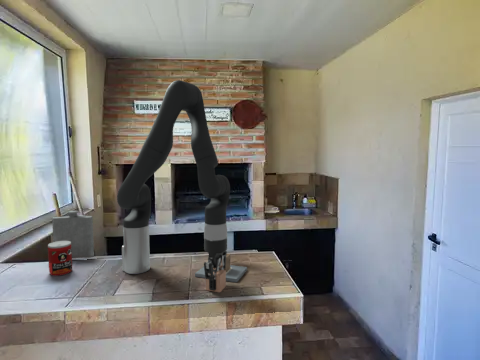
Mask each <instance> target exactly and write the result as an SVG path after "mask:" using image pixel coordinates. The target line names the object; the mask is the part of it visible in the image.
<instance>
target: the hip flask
mask: <svg viewBox="0 0 480 360" xmlns="http://www.w3.org/2000/svg"><path fill="white" fill-rule="evenodd" d="M78 213H79V212H78V210H70V211H68V212H67V214H68V216H55V217H54V216H53V217H52V218H51V220H52V221H51V222H52V239H53V240H52V241H53V242H56V241H70V242H71V249H72V259H80V258H83V259H87V258H88V259H91V258H93V257H95V253H94V251H95V245H94V223H93V222H94V221H93V220H94V219H93V216H92V215H80V214H78Z"/></svg>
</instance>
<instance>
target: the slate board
mask: <svg viewBox="0 0 480 360" xmlns="http://www.w3.org/2000/svg"><path fill="white" fill-rule="evenodd" d="M247 271H248V267H247V266H241V265H239V266H238V265H234V264H232V265H231V264H230V269H229V270H228V271H227V272H226V282H231V283H238V282H239V280H240V279H241V278H242V277H243V276H244V274H245V273H246V272H247ZM194 276H195V277H196V278H203V279H206V278H205V270H204V266H202V267H201V268H200V269H199V270H198V271H196V272H195V273H194Z"/></svg>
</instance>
